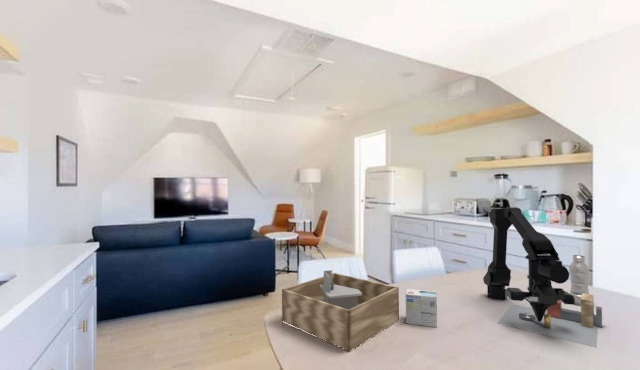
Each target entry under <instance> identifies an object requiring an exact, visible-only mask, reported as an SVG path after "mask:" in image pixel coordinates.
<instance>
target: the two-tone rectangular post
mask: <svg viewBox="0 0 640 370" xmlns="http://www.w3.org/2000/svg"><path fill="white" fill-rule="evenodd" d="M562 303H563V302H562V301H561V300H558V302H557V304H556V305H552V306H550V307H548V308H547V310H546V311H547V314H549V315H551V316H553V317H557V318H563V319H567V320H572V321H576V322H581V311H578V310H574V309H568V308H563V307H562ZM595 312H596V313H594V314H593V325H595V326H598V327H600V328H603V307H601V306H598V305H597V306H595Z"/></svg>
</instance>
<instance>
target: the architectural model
mask: <svg viewBox="0 0 640 370" xmlns="http://www.w3.org/2000/svg"><path fill="white" fill-rule="evenodd" d="M332 274H333V270H323V276H324V284H323V285H320V288H321V289H322V291H323V292H324V299H320V301H323V302H326V303H329V304H332V305H335V306H338V307H342V308H345V309H348V310H349V309H351V308H353V307H356V306H358V296H362V292H360V291H359V290H358V289H353V288H349V287H344V286H339V285H335V284H333V283H332Z"/></svg>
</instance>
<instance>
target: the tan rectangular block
mask: <svg viewBox="0 0 640 370" xmlns="http://www.w3.org/2000/svg"><path fill="white" fill-rule="evenodd" d="M594 304H595V302H594V295H593V294H590V293H589V294H584V293H582V297H581V306H580V312H581V326H585V327H590V328H593V314H594V315H595V311H594V310H595V309H594V308H595V305H594Z"/></svg>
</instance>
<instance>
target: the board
mask: <svg viewBox="0 0 640 370" xmlns="http://www.w3.org/2000/svg"><path fill="white" fill-rule="evenodd" d="M520 313H528V314H533V315H534V316H535V313H534V311H533V309H532V307H531V306H525V305H521V304H516V303H512V304H511V306H510V307H509V308H508V309H507V311H506V312H505V313H504V314H503V316H502V317H501V318H499V321H498V322H497V324H502V325H505V326H509V327H512V328H516V329H521V330H523V331H528V332H533V333H537V334H540V335H543V336H544V335H545V336H548V337H553V338H556V339H559V340H560V339H561V340H562V341H563V340H565V341H568V342H572V343H575V344H579V345H584V346H588V347H591V348H592V347H593V348H595V349H596V348H597V344H598V343H597V342H598V333H599V332H598V329H599V326H595V325H593V328H590V327H585V326H581V322H576V321H572V320H567V319H563V318H557V317H553V316H551V328H545V327H543V326H540V325H538V324H536V323H534V322H532V321H525V320H522V319H520V318H519V314H520ZM545 314H547V310H546V312H545ZM535 317H536V316H535ZM536 319H537V318H536ZM541 322H543V323H544V316H543V318H542V320H541Z"/></svg>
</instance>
